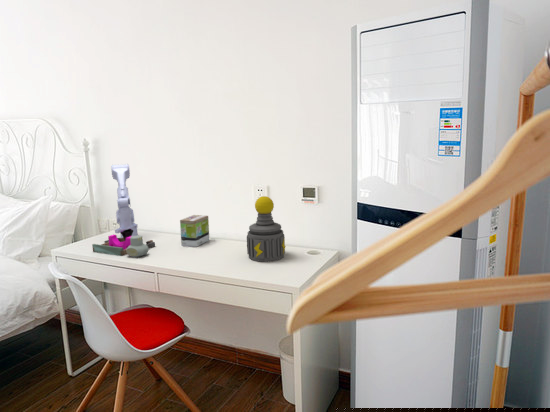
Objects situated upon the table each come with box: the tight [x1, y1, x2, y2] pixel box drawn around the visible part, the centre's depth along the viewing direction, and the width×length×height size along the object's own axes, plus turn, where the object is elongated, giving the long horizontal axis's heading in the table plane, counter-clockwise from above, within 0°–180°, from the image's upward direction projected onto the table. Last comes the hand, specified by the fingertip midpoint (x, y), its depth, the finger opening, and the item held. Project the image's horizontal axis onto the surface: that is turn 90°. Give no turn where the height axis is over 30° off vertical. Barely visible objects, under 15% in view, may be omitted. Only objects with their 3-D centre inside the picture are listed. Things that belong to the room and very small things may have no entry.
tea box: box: [179, 214, 210, 248], centre depth 238 cm, size 15×10×15 cm
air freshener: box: [126, 234, 150, 258], centre depth 219 cm, size 11×8×10 cm
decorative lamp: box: [246, 195, 286, 263], centre depth 208 cm, size 19×19×30 cm
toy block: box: [107, 234, 132, 250], centre depth 232 cm, size 15×6×8 cm, turn 66°
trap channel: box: [91, 237, 156, 257], centre depth 234 cm, size 23×29×4 cm
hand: (128, 243), depth 237 cm, fingers closed
